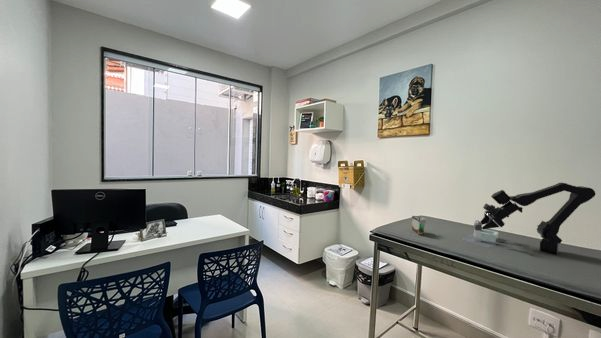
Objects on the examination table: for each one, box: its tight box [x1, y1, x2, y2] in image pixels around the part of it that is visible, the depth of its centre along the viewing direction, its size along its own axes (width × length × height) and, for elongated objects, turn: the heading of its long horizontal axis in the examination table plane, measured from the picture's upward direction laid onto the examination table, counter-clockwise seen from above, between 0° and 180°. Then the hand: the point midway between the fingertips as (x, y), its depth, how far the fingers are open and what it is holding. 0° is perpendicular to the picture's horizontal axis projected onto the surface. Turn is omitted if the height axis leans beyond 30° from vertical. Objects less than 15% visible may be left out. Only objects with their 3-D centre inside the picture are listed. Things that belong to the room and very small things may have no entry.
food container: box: [411, 215, 427, 236], centre depth 162 cm, size 12×6×10 cm, turn 179°
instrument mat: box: [457, 232, 506, 249], centre depth 151 cm, size 16×26×1 cm, turn 124°
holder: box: [481, 229, 499, 242], centre depth 153 cm, size 10×10×4 cm
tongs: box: [473, 219, 483, 242], centre depth 148 cm, size 3×4×12 cm
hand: (480, 226), depth 147 cm, fingers open, 9 cm apart
